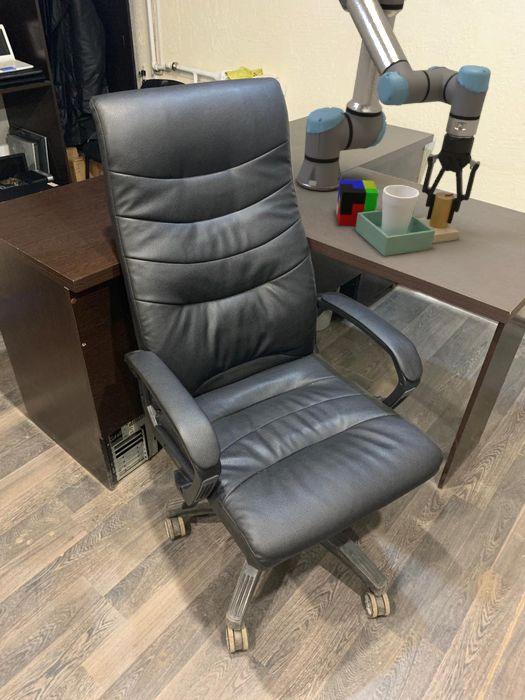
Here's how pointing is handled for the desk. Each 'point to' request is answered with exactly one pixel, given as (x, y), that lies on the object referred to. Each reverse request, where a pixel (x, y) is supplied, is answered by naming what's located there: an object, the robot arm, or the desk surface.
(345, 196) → the puzzle toy
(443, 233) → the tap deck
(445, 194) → the tap handle
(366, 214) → the basin
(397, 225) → the foam cup
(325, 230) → the desk surface
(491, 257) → the desk surface
